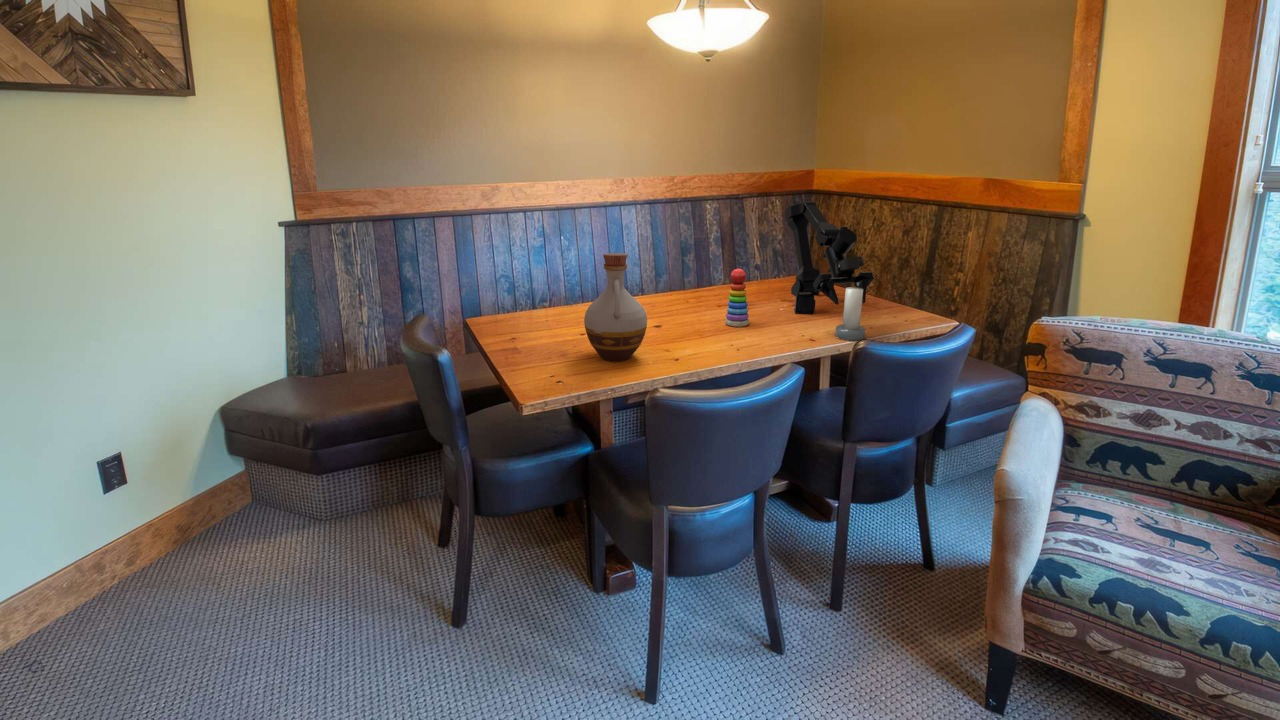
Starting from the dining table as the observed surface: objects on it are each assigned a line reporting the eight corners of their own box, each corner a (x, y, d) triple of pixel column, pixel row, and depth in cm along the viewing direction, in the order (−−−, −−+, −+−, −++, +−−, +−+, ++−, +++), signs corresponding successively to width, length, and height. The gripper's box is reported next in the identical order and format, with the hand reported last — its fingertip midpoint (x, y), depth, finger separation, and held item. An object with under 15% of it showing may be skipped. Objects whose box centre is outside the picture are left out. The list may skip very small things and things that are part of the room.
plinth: (837, 340, 225) (838, 331, 224) (833, 332, 234) (834, 323, 233) (867, 341, 224) (868, 332, 223) (862, 333, 233) (862, 324, 232)
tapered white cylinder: (847, 330, 225) (851, 291, 221) (839, 326, 230) (842, 287, 226) (862, 329, 226) (866, 290, 223) (853, 325, 231) (857, 286, 227)
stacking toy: (751, 322, 245) (753, 267, 240) (746, 328, 238) (749, 272, 232) (728, 320, 248) (730, 266, 242) (722, 326, 241) (725, 270, 235)
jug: (650, 368, 198) (651, 260, 189) (585, 370, 197) (583, 260, 188) (644, 347, 217) (644, 247, 208) (584, 348, 216) (582, 248, 206)
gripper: (820, 248, 224) (834, 291, 218) (874, 246, 229) (889, 288, 222) (807, 268, 234) (819, 310, 228) (859, 266, 238) (873, 307, 232)
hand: (851, 303), depth 227 cm, fingers open, 9 cm apart
